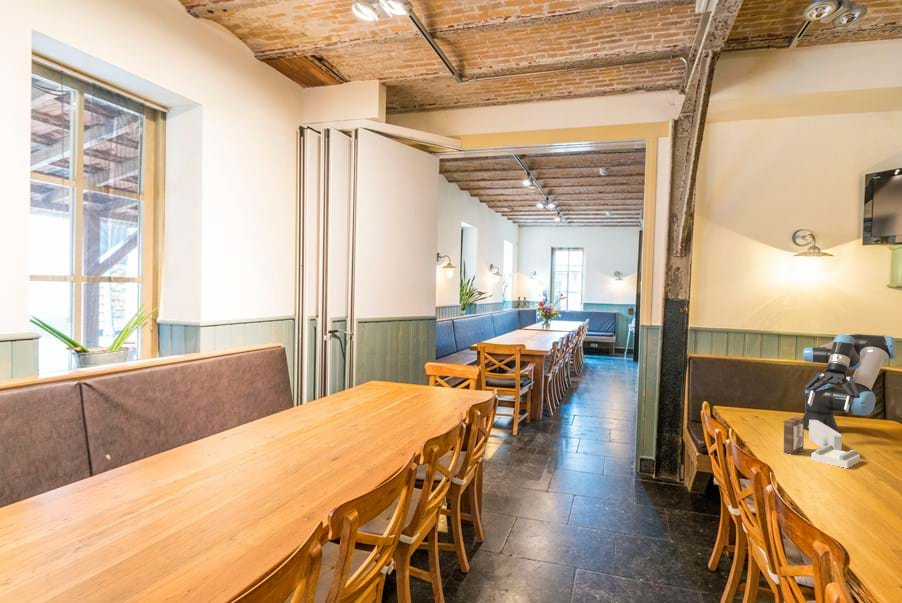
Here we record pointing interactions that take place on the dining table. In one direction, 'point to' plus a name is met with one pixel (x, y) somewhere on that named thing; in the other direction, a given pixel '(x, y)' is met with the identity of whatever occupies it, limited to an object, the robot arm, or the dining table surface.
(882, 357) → the robot arm
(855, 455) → the panel
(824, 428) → the decorative sign
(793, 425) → the brown picture frame
